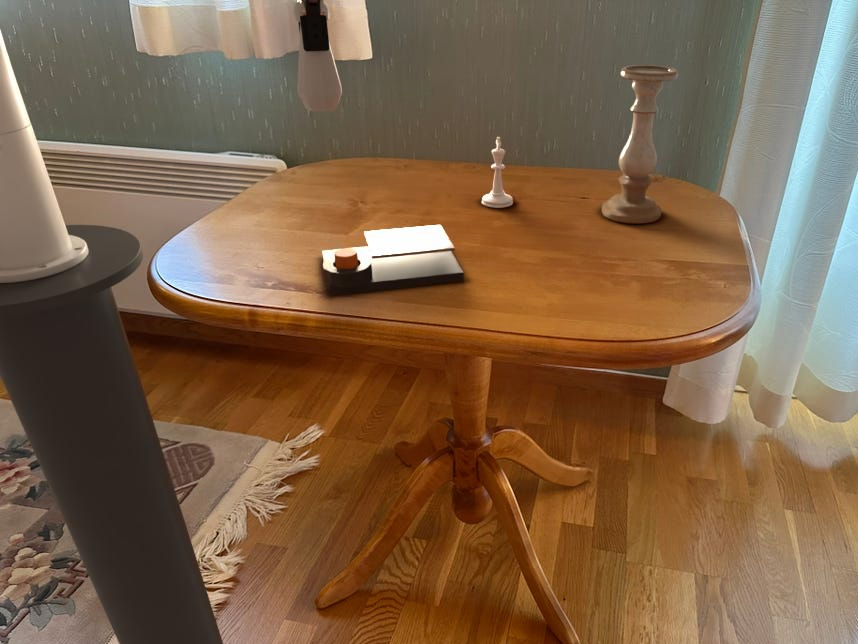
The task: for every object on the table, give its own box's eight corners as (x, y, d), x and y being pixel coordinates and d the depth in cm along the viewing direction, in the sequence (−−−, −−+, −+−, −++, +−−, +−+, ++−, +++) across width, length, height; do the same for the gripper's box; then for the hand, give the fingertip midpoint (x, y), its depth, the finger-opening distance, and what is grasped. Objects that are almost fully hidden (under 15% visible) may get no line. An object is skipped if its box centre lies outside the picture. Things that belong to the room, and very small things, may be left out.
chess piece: (508, 196, 108) (510, 132, 103) (516, 206, 104) (518, 140, 99) (478, 198, 107) (478, 134, 102) (485, 208, 103) (486, 142, 98)
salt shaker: (292, 111, 90) (277, 1, 83) (311, 103, 95) (299, -2, 88) (332, 114, 89) (321, 2, 82) (350, 105, 93) (341, -1, 86)
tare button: (336, 272, 77) (335, 257, 76) (335, 263, 79) (333, 249, 78) (359, 269, 78) (358, 255, 77) (357, 260, 80) (355, 247, 79)
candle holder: (642, 229, 96) (663, 77, 86) (590, 215, 101) (604, 69, 90) (671, 213, 102) (694, 68, 91) (620, 200, 107) (637, 61, 96)
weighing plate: (372, 259, 79) (371, 255, 79) (364, 234, 86) (363, 231, 86) (454, 250, 82) (454, 247, 82) (440, 227, 88) (440, 224, 88)
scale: (327, 299, 77) (324, 275, 76) (320, 259, 87) (317, 237, 85) (465, 284, 81) (465, 260, 79) (444, 247, 90) (443, 225, 89)
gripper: (261, -121, 84) (282, 41, 93) (264, -133, 70) (288, 58, 80) (322, -119, 86) (337, 39, 95) (337, -130, 72) (352, 56, 82)
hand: (315, 46), depth 87 cm, fingers closed on salt shaker, 4 cm apart
